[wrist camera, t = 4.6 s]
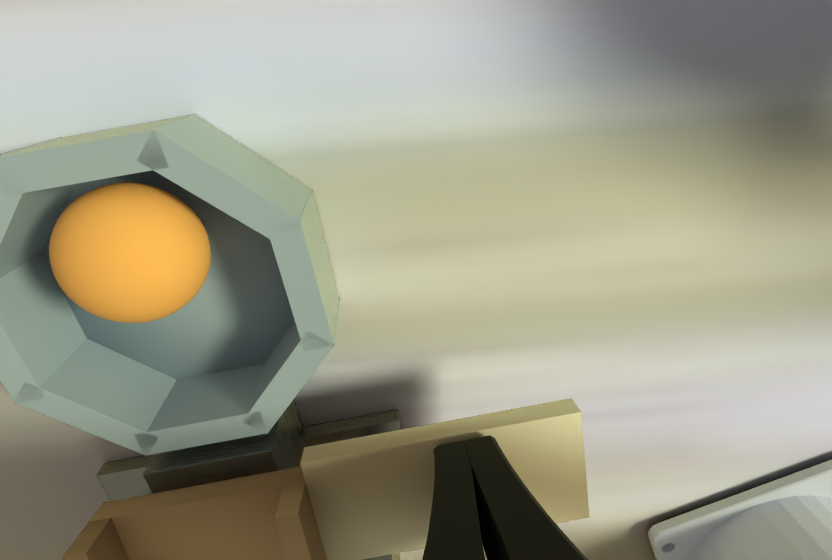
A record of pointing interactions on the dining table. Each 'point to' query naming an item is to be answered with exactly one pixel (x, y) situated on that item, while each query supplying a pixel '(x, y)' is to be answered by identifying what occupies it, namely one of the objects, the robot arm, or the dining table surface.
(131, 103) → the dining table surface
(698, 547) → the robot arm
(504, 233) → the dining table surface
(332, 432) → the fulcrum
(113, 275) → the ball
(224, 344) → the grey octagonal bowl
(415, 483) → the lever
